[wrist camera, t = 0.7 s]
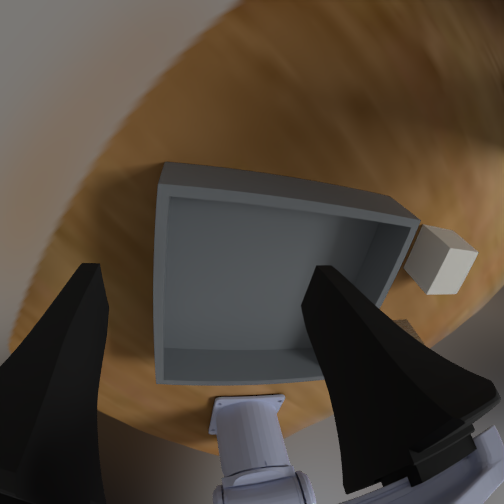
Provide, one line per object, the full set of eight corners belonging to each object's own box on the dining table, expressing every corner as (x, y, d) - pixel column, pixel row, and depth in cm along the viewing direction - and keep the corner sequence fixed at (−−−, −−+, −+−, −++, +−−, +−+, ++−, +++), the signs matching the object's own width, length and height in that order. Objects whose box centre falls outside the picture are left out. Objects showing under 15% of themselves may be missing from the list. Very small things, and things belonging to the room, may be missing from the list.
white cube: (433, 269, 27) (456, 293, 23) (402, 267, 26) (426, 294, 22) (452, 229, 25) (478, 252, 21) (422, 223, 23) (450, 247, 20)
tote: (324, 346, 29) (338, 377, 26) (157, 346, 25) (156, 383, 22) (389, 196, 21) (420, 220, 18) (164, 161, 17) (157, 183, 14)
